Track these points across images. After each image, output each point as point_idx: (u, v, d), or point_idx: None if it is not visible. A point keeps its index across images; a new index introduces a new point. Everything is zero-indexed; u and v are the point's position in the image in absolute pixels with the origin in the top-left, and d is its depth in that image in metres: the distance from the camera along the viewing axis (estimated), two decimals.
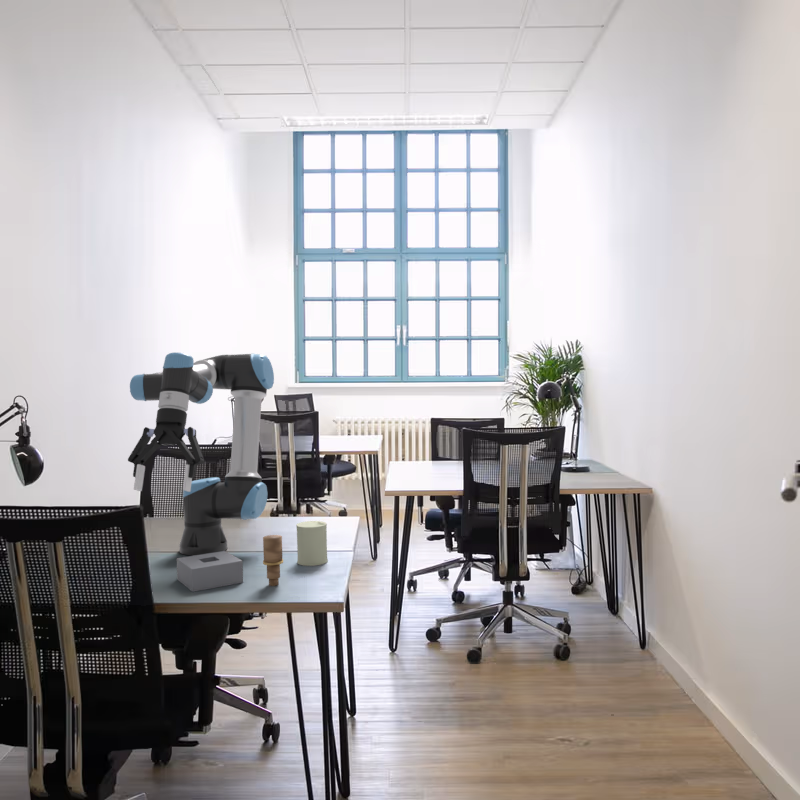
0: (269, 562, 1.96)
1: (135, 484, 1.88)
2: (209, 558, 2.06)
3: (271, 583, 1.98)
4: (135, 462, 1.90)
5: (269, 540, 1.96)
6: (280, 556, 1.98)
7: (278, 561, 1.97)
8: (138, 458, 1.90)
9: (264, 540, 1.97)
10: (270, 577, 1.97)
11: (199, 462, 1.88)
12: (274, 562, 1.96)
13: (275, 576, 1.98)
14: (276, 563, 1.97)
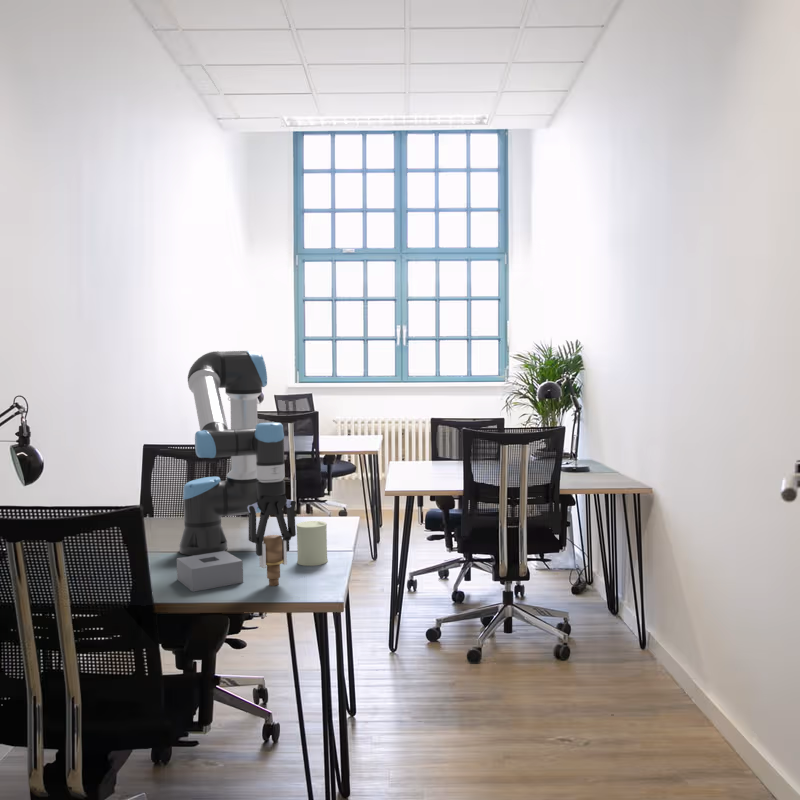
0: (269, 562, 1.96)
1: (264, 563, 1.96)
2: (209, 558, 2.06)
3: (271, 583, 1.98)
4: (260, 542, 1.95)
5: (269, 540, 1.96)
6: (280, 556, 1.98)
7: (278, 561, 1.97)
8: (261, 538, 1.96)
9: (264, 540, 1.97)
10: (270, 577, 1.97)
11: None
12: (274, 562, 1.96)
13: (275, 576, 1.98)
14: (276, 563, 1.97)
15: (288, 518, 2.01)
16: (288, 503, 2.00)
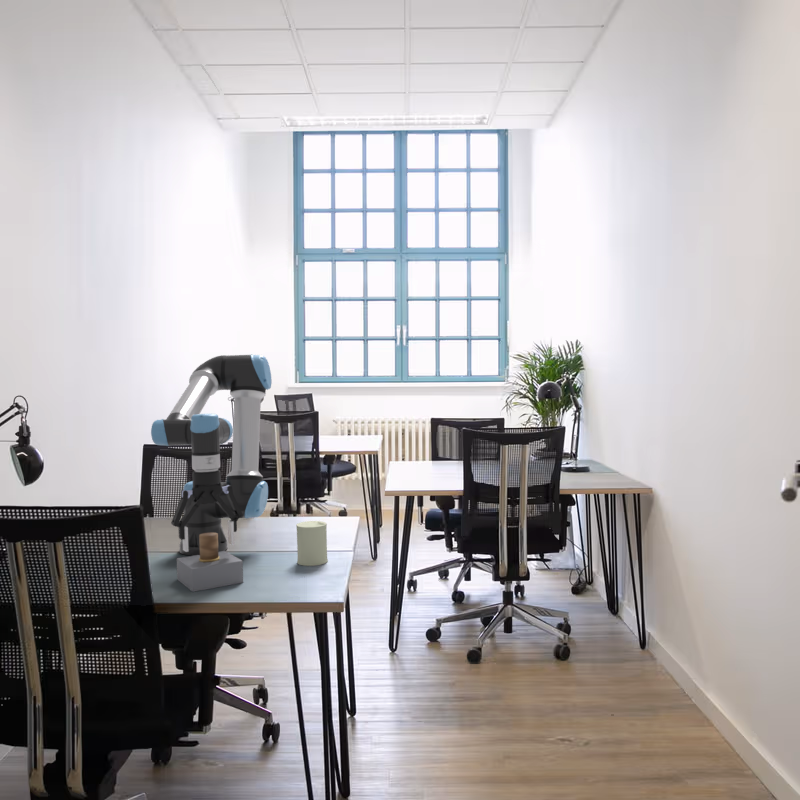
0: (204, 559, 2.01)
1: (186, 547, 1.99)
2: None
3: None
4: (182, 526, 1.98)
5: (204, 537, 2.01)
6: (216, 553, 2.02)
7: (213, 558, 2.02)
8: (184, 522, 1.98)
9: (200, 537, 2.02)
10: None
11: None
12: (209, 559, 2.01)
13: None
14: (211, 560, 2.01)
15: (231, 502, 2.07)
16: (225, 490, 2.05)
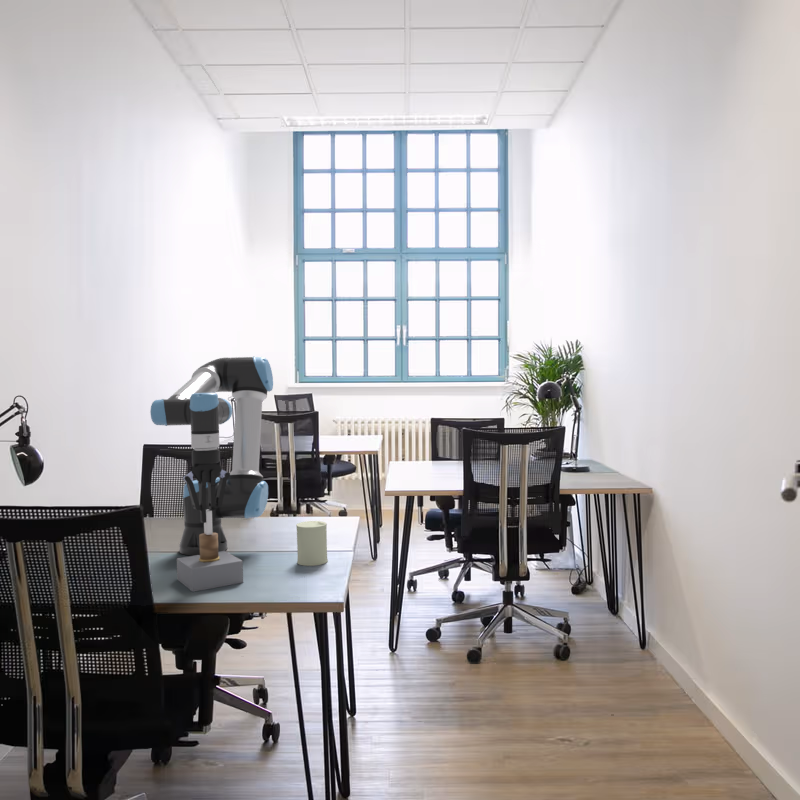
0: (204, 559, 2.01)
1: (208, 530, 2.02)
2: None
3: None
4: (204, 509, 2.01)
5: (204, 537, 2.01)
6: (216, 553, 2.02)
7: (213, 558, 2.02)
8: (204, 505, 2.01)
9: (200, 537, 2.02)
10: None
11: None
12: (209, 559, 2.01)
13: None
14: (211, 560, 2.01)
15: (218, 488, 2.05)
16: (222, 473, 2.05)
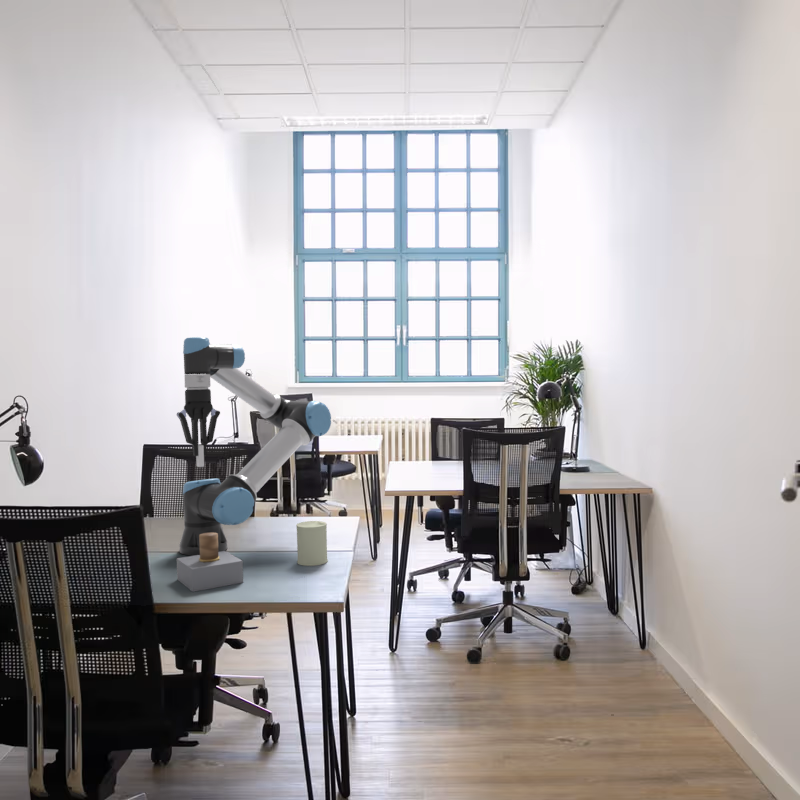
0: (204, 559, 2.01)
1: (200, 462, 2.21)
2: None
3: None
4: (196, 444, 2.21)
5: (204, 537, 2.01)
6: (216, 553, 2.02)
7: (213, 558, 2.02)
8: (196, 440, 2.21)
9: (200, 537, 2.02)
10: None
11: None
12: (209, 559, 2.01)
13: None
14: (211, 560, 2.01)
15: (209, 425, 2.25)
16: (213, 412, 2.24)
